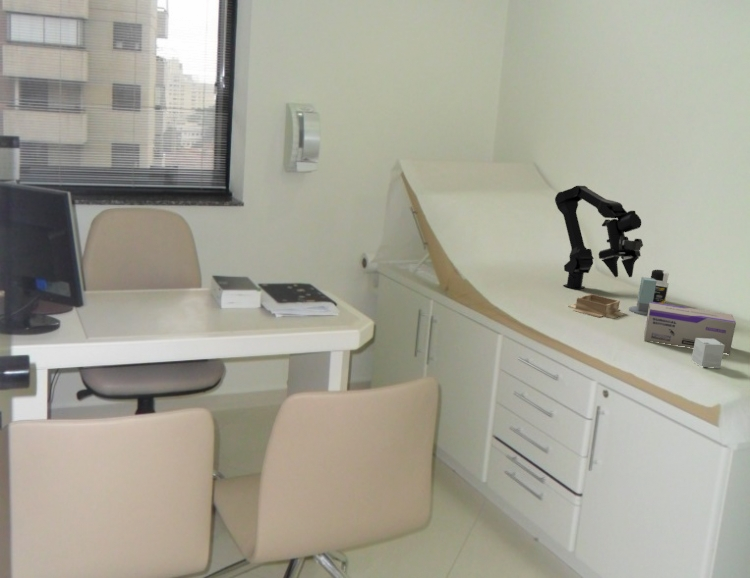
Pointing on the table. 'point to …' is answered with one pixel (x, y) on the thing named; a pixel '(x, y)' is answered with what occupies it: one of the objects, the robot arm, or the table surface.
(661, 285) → the medicine bottle
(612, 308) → the carton
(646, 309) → the slim box
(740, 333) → the table surface
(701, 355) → the skincare box
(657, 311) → the surgical sutures box
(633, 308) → the mat
